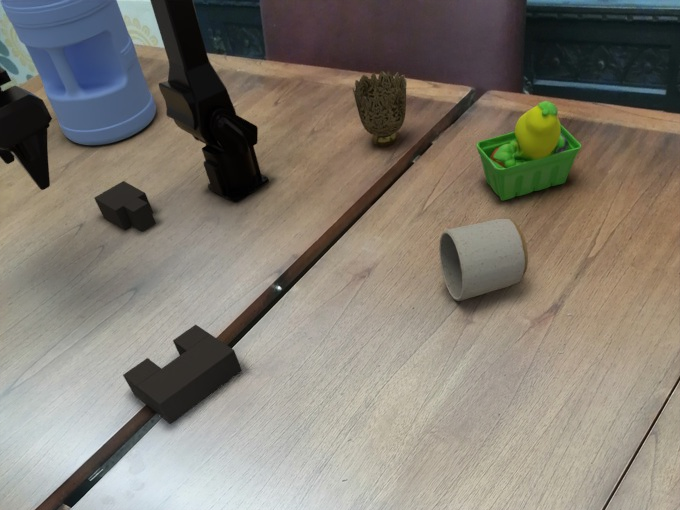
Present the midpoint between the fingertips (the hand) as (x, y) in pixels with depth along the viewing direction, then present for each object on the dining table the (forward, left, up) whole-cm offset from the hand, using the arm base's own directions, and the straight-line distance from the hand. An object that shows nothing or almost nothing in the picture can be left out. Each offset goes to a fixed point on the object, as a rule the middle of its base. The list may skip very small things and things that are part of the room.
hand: (27, 174), depth 79 cm
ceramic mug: (-29, +42, -14) cm, 53 cm away
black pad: (-12, -6, -14) cm, 19 cm away
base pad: (+3, +28, -14) cm, 31 cm away
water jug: (-26, -33, -14) cm, 44 cm away
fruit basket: (-48, +35, -14) cm, 61 cm away
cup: (-46, +11, -14) cm, 49 cm away
